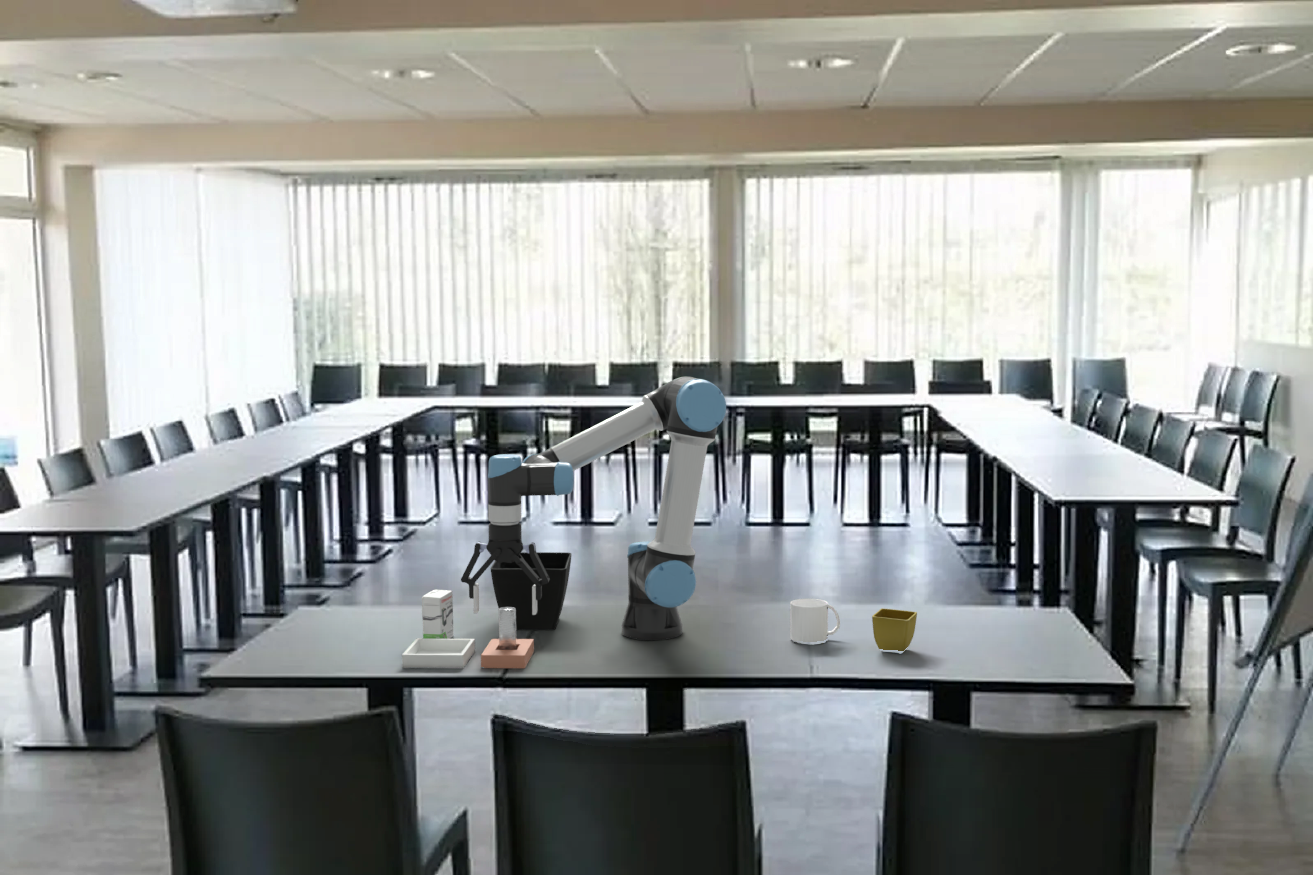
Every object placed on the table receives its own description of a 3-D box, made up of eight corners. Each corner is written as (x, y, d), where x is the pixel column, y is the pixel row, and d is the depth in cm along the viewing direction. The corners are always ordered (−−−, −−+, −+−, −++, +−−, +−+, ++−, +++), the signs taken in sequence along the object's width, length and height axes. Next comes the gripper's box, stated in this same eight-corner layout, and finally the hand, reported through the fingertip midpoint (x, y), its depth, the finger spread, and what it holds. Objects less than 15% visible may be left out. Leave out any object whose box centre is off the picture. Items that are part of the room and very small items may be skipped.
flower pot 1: (567, 633, 335) (566, 567, 333) (491, 634, 335) (489, 567, 334) (572, 614, 354) (571, 551, 352) (501, 615, 354) (499, 552, 352)
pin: (518, 657, 314) (517, 607, 313) (515, 662, 310) (514, 611, 309) (501, 657, 315) (499, 606, 313) (498, 662, 311) (496, 611, 309)
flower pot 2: (917, 648, 319) (917, 611, 318) (908, 658, 311) (908, 620, 310) (881, 644, 323) (881, 607, 321) (870, 653, 315) (871, 616, 314)
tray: (475, 651, 320) (474, 638, 319) (463, 668, 306) (462, 655, 305) (416, 651, 320) (416, 638, 320) (402, 668, 306) (402, 654, 306)
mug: (790, 645, 323) (790, 607, 322) (790, 635, 332) (790, 598, 331) (840, 646, 322) (841, 607, 321) (839, 636, 331) (839, 599, 330)
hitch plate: (534, 651, 319) (533, 639, 319) (524, 668, 305) (524, 655, 305) (492, 651, 320) (491, 638, 319) (481, 668, 306) (480, 655, 306)
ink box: (441, 645, 325) (440, 597, 324) (422, 644, 326) (420, 596, 325) (454, 636, 334) (453, 589, 332) (435, 635, 335) (434, 588, 333)
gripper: (561, 520, 312) (561, 610, 314) (454, 518, 313) (455, 607, 316) (556, 526, 304) (557, 617, 307) (447, 524, 306) (448, 615, 308)
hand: (505, 613), depth 311 cm, fingers open, 13 cm apart
